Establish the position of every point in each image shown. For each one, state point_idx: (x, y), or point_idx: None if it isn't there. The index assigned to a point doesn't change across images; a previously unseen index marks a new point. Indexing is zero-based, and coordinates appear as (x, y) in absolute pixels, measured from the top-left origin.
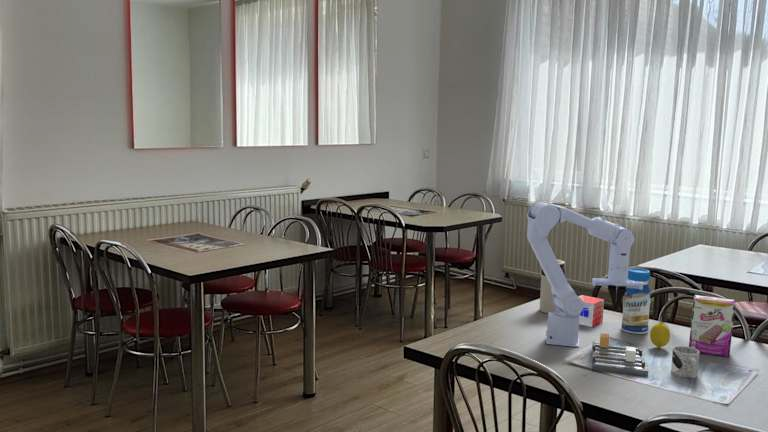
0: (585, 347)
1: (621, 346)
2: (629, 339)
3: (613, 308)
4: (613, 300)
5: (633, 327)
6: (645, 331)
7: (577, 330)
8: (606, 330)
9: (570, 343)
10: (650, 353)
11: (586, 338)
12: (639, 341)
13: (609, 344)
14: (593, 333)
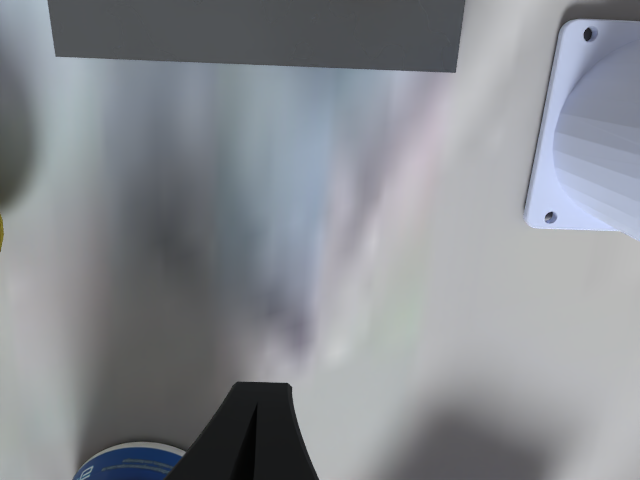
0: (502, 54)
1: (229, 33)
2: (178, 334)
3: (288, 395)
4: (291, 478)
5: (144, 471)
6: (79, 470)
7: (637, 98)
8: (315, 459)
9: (634, 42)
10: (19, 60)
11: (461, 272)
12: (113, 313)
13: (325, 60)
14: (401, 384)
